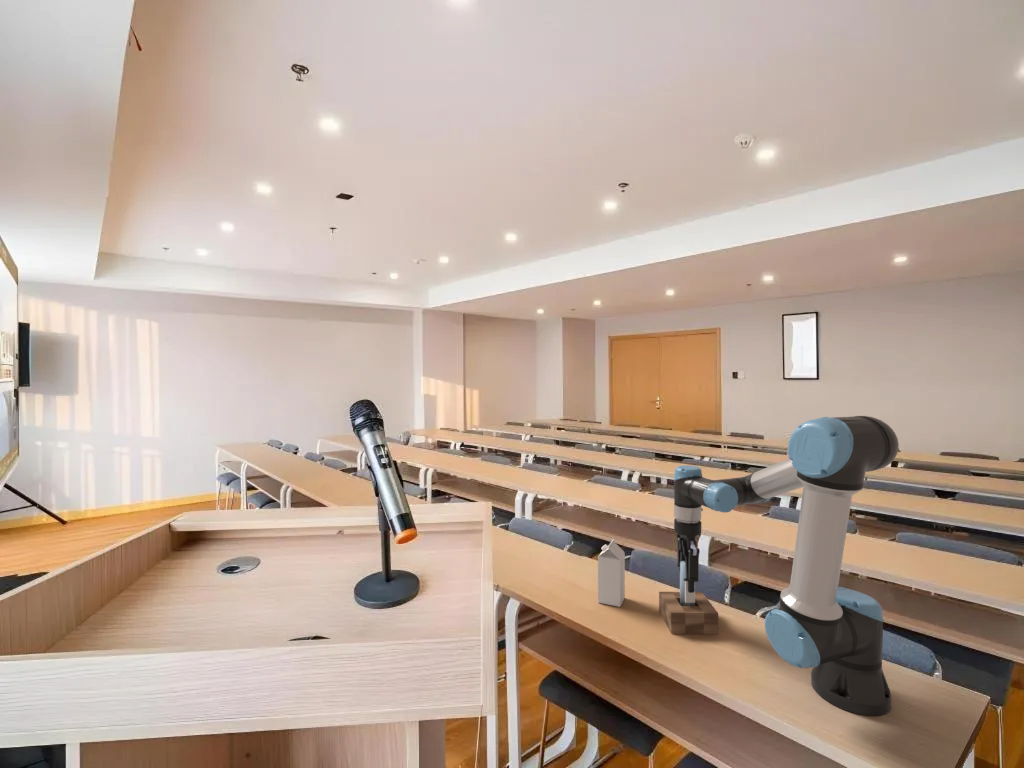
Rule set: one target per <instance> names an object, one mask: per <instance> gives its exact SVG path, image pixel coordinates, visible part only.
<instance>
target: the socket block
mask: <svg viewBox="0 0 1024 768" xmlns="http://www.w3.org/2000/svg"><path fill="white" fill-rule="evenodd" d="M658 594H659V596H658V602H659V603H658V612H659V613H660V615H661V617H662V619H663V621H664V623H665V625H666V627H667V628H668V631H669V632H670V634H672V635H674V634H676V635H681V634H682V635H683V634H684V635H719V613H718V610H717V609H716V608H715V606H713V604H712V603H711V602H710V600H709V599H708V598H707V597H706V596H705V594H704V593H703V591H695V606H681V605H680V591H659V592H658Z"/></svg>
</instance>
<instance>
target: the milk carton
mask: <svg viewBox="0 0 1024 768" xmlns="http://www.w3.org/2000/svg"><path fill="white" fill-rule="evenodd" d="M601 550H602V551H601V552H600V554H599V555H598V556H597V603H598V604H604V605H609V606H613V607H618V608H619V607H621V606H622V604H623V602H624V600H625V597H626V595H625V594H626V590H625V589H626V583H625V582H626V579H625V578H626V575H625V574H626V571H625V569H626V564H625V563H626V562H625V561H626V559H625V558H626V555H625V551H624V550H623V549H622V548H621V547H620V546H619V545H618V544H616V542H615V538H613V539H612V540H611V541H610V543H609V544H604V545H602V547H601Z"/></svg>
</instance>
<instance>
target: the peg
mask: <svg viewBox="0 0 1024 768" xmlns="http://www.w3.org/2000/svg"><path fill="white" fill-rule="evenodd" d="M684 578H686V565H685V561H681V562H680V570H679V592H680V605H681V606H695V603H686V602H685V581H684Z"/></svg>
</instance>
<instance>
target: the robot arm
mask: <svg viewBox="0 0 1024 768" xmlns="http://www.w3.org/2000/svg"><path fill="white" fill-rule="evenodd" d="M899 444H900V443H899V439H898V437H897V434H896V432H895V431H894V430H893V428H892V427H891V426H890V425H888V423H886V422H884V421H883V420H881V419H879V418H876V417H873V416H868V415H854V416H836V417H834V416H833V417H828V416H824V417H819V418H814V419H810V420H807V421H804V422H802V423H801V424H800V425H797V426H796V428H795V429H794V430H793V431H792V433H791V434H790V437H789V440H788V442H787V456H788V458H786V459H784V460H781V461H779V462H777V463H774V464H771V465H770V466H767V467H765V468H762V469H760V470H758V471H755V472H753V473H750V474H748V475H744V476H741V477H735V478H734V477H731V478H722V479H709V478H706V477H704V476H703V472H702V469H701V467H699V466H696V465H677V466H676V467H675V469H674V476H673V477H674V478H673V497H674V498H673V499H674V500H673V501H674V503H673V517H674V520H673V530H674V532H675V533H676V541H677V542H676V543H677V548H676V549H677V550H676V551H677V553H676V554H677V555H676V556H677V564H676V565H677V567H678V570H679V571H680V562H681V561H685V565H686V578H684V581H685V602H686V603H695V592H696V583H697V582H699V566H700V565H699V563H700V562H699V557H700V552H701V551H700V548H699V547H698V548H697V546H698V545H697V540H696V537H697V536H700V535H701V534H702V521H701V520H702V512H703V511H704V508H702V506H703V507H705V508H709V510H712V511H715V512H720V513H726V514H727V513H730V512H731V511H732V510H734V509H735V508H736V507H738V506H744V505H753V504H755V505H756V504H763V503H765V502H766V503H767V502H769V501H770V500H771V499H772V498H774V497H777V496H780V495H783V494H787V493H789V492H792V491H795V490H799V489H801V488H802V493H801V494H802V496H801V503H800V509H799V516H798V524H797V525H798V526H797V532H796V537H795V538H796V539H795V546H794V547H795V548H794V553H793V559H792V561H793V562H792V567H791V568H792V569H791V576H790V581H789V586H788V587H785V588H783V589H782V590H781V592H780V596H779V601H778V603H779V604H778V608H773V609H771V611H769V612H768V613H767V614H766V616H765V619H764V629H765V633H766V635H767V639H768V641H769V642H770V645H771V646H772V648H773V649H774V651H775V652H776V653H777V655H778V656H779V657H780V658H782V660H783V661H785V663H787V664H789V665H791V666H793V667H794V668H797V669H807V668H812V669H811V673H810V674H811V676H810V682H811V683H810V684H811V686H812V688H813V691H815V692H816V693H817V695H819V696H820V698H822V699H824V700H825V701H826V702H828V703H829V704H832V705H833V706H836V707H838V708H840V709H842V710H845V711H847V712H850V713H854V714H859V715H862V716H872V717H873V716H881V715H886V714H887V713H889V712H890V711H891V709H892V693H891V691H890V688H889V684H888V682H887V680H886V676H885V673H884V671H883V670H884V669H883V639H884V638H883V635H884V633H883V630H884V621H885V619H884V616H883V607H882V604H880V602H878V601H877V599H875V598H873V597H872V596H869V595H868V594H865V593H864V592H861V591H857V590H854V589H851V588H846V587H843V586H839V584H840V578H841V577H840V576H841V572H842V571H841V570H842V563H843V559H844V558H843V556H844V551H845V543H846V539H847V538H846V537H847V531H848V524H849V518H850V512H851V506H852V500H853V499H852V498H853V496H854V495H855V494H858V493H859V492H861V491H862V490H863V488H864V481H865V475H866V472H873V471H877V470H881V469H884V468H886V467H887V466H889V465H890V464H892V462H894V460H895V458H896V457H897V455H898V451H899V446H900V445H899Z"/></svg>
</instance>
